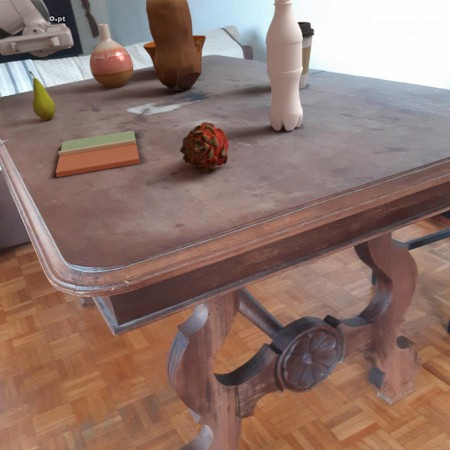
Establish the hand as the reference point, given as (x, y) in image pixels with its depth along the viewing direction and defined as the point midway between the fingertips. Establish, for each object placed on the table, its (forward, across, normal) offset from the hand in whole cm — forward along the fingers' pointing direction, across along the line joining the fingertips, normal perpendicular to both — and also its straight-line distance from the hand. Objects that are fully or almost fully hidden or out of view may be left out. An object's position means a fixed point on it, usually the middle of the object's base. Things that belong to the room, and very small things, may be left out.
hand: (33, 45), depth 128 cm
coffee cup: (+18, +67, +17) cm, 71 cm away
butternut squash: (+1, +38, +17) cm, 41 cm away
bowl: (-27, +41, +17) cm, 52 cm away
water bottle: (+52, +54, +17) cm, 77 cm away
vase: (-20, +19, +17) cm, 32 cm away
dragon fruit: (+67, +34, +16) cm, 77 cm away
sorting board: (+49, +14, +16) cm, 54 cm away
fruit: (+12, 0, +16) cm, 21 cm away
